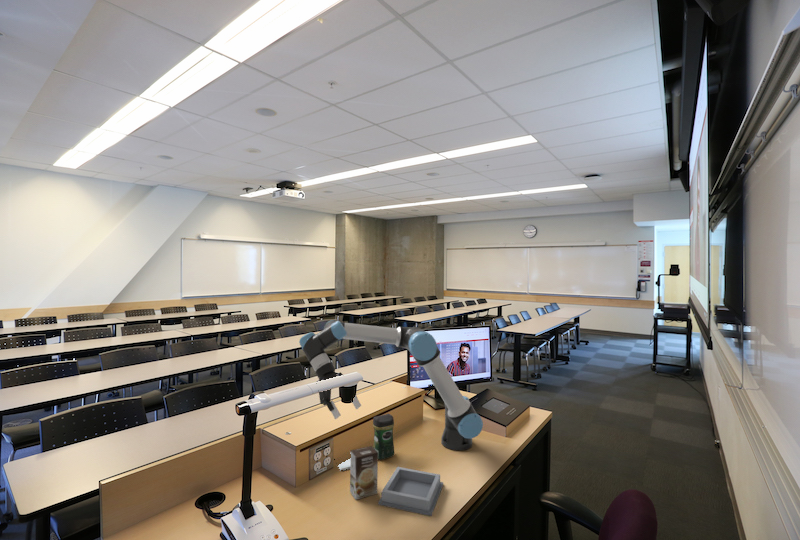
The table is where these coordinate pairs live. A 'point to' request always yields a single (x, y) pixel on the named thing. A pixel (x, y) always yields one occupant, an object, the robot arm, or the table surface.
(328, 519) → the table surface
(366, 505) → the table surface
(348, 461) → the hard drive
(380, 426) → the coffee jar
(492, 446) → the table surface
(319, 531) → the table surface
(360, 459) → the coffee box
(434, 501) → the dock tray
